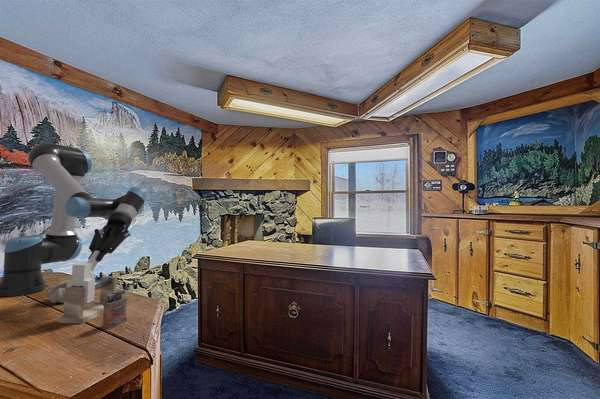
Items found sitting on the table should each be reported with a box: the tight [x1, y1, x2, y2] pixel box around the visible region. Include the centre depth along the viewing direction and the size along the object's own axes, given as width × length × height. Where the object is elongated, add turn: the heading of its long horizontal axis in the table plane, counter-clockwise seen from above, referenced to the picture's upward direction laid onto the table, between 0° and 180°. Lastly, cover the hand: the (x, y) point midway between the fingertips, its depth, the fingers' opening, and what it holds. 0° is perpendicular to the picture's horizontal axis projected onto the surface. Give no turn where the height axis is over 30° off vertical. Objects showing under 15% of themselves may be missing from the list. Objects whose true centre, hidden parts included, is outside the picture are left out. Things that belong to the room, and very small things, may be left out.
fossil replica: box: [45, 278, 72, 304], centre depth 113 cm, size 12×8×10 cm
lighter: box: [101, 289, 128, 330], centre depth 90 cm, size 8×3×10 cm, turn 168°
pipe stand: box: [57, 275, 118, 324], centre depth 100 cm, size 18×8×11 cm, turn 178°
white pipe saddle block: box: [66, 262, 96, 304], centre depth 95 cm, size 3×7×12 cm, turn 88°
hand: (88, 268), depth 98 cm, fingers closed
